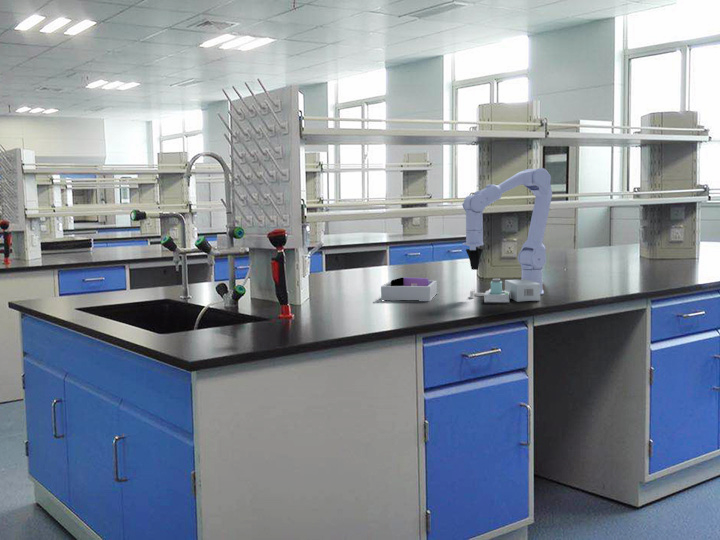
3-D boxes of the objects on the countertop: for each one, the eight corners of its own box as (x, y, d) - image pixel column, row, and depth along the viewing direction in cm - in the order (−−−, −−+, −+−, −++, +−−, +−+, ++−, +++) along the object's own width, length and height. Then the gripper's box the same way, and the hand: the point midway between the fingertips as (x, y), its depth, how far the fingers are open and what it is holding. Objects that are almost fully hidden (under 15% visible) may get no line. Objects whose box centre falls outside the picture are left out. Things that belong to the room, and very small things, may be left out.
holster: (472, 295, 269) (471, 288, 269) (492, 295, 267) (492, 288, 267) (470, 298, 263) (470, 291, 263) (491, 298, 261) (491, 291, 261)
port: (486, 298, 261) (486, 289, 260) (510, 298, 259) (510, 289, 259) (484, 303, 251) (484, 293, 251) (508, 303, 249) (508, 293, 249)
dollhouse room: (401, 295, 277) (401, 276, 276) (431, 296, 271) (431, 277, 270) (386, 300, 266) (386, 280, 266) (418, 301, 261) (417, 281, 260)
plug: (491, 298, 257) (491, 278, 257) (502, 299, 256) (502, 278, 256) (490, 300, 254) (490, 279, 253) (501, 300, 253) (501, 279, 252)
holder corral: (390, 294, 279) (390, 280, 279) (436, 294, 275) (436, 280, 275) (381, 300, 263) (380, 286, 262) (430, 301, 259) (429, 286, 258)
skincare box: (540, 301, 252) (527, 295, 267) (540, 282, 252) (527, 278, 267) (515, 301, 252) (504, 296, 267) (515, 283, 251) (504, 279, 266)
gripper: (464, 229, 269) (465, 267, 271) (460, 231, 255) (461, 271, 257) (484, 228, 268) (485, 267, 269) (481, 231, 254) (482, 271, 255)
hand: (474, 269), depth 263 cm, fingers closed
